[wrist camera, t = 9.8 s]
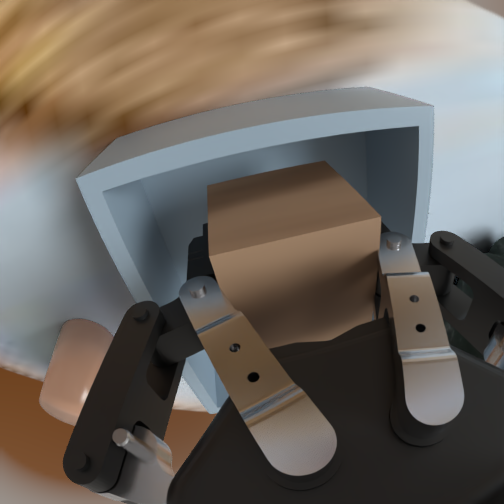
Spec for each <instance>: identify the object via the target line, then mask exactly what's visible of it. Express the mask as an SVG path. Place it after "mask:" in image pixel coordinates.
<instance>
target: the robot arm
mask: <svg viewBox="0 0 504 504" xmlns="http://www.w3.org/2000/svg"><path fill="white" fill-rule="evenodd" d="M377 266H378V272H377V282H376V291H375V294H373V302H372V304H373V314H374V320H373V321H370V322H367V323H364V324H360V325H357V326H355V327H354V328H352V329H350V330H348V331H346V332H345V333H343V334H341V335H339V336H337V337H336V338H334V339H332V340H328V341H313V342H295V343H291V344H287V345H283V346H279V347H274V348H270V349H268V347H267V346H266V345H265V343H264V342H263V340H262V339H261V338H260V336H259V335H258V334H257V332H256V331H255V329H254V328H253V327H252V325H251V324H250V323H249V321H248V320H247V318H246V317H245V316H244V314H243V313H242V312H241V311H240V310H239V311H236V310H235V309H234V307H233V306H232V304H231V303H230V301H229V300H228V298H227V297H226V296H225V294H224V293H223V291H222V290H221V288H219V285H218V282H217V279H216V276H215V273H214V270H213V267H212V264H211V261H210V258H209V243H208V223H205V224H203V236H199V237H195V238H193V239H192V241H191V243H190V244H189V246H188V262H187V281H186V282H185V283H184V284H183V285H182V286H181V288H180V290H179V297H178V298H177V299H175V300H174V301H172V302H170V303H168V304H166V305H163V306H161V307H159V306H158V305H157V303H155V302H153V301H142V302H139V303H137V304H135V305H133V306H132V307H131V308H130V309H129V310H128V311H127V312H126V314H125V316H124V318H123V320H122V322H121V324H120V326H119V328H118V330H117V332H116V334H115V336H114V338H113V340H112V342H111V344H110V346H109V349H108V351H107V353H106V355H105V357H104V359H103V361H102V364H101V366H100V368H99V370H98V373H97V375H96V377H95V379H94V382H93V384H92V386H91V388H90V391H89V393H88V396H87V398H86V400H85V403H84V405H83V407H82V410H81V412H80V415H79V417H78V420H77V422H76V425H75V428H74V430H73V433H72V435H71V438H70V441H69V444H68V446H67V449H66V452H65V454H64V458H63V468H64V471H65V473H66V475H67V477H68V478H69V479H70V480H71V481H72V482H74V483H76V484H78V485H81V486H83V487H85V488H88V489H89V490H90V491H92V492H94V493H97V494H99V495H102V496H104V497H107V498H110V499H112V500H116V501H121V502H124V503H127V504H504V268H503V267H502V266H500V265H499V264H498V263H496V262H495V261H494V260H492V259H491V258H489V257H488V256H486V255H485V254H484V253H482V252H481V251H479V250H478V249H476V248H475V247H473V246H472V245H471V244H469V243H468V242H466V241H465V240H463V239H462V238H460V237H458V236H457V235H455V234H453V233H451V232H447V231H437V232H434V233H433V234H432V235H431V237H430V242H429V243H411V240H410V239H409V238H408V237H407V236H406V235H404V234H402V233H399V232H391V231H390V230H389V229H388V228H387V227H386V225H385V224H384V223H383V222H382V221H381V233H380V248H379V249H378V250H377ZM455 275H456V276H457V277H459V278H460V279H461V280H463V281H464V282H465V283H466V284H468V285H469V286H470V287H471V289H472V291H473V295H474V296H473V300H472V299H471V298H470V297H469V296H467V295H466V294H465V293H464V292H463V291H461V290H460V289H459V288H458V287H456V286H455V285H454V284H453V281H454V277H455ZM442 317H443V318H444V319H445V320H446V321H447V322H448V323H449V324H450V325H451V326H453V327H454V328H455V329H456V330H457V331H458V332H459V333H460V334H461V335H462V336H463V337H464V338H465V339H466V340H468V341H469V342H470V343H471V344H472V345H473V346H474V347H475V348H476V349H477V350H478V351H479V352H480V353H481V354H482V355H483V356H484V359H485V361H484V360H482V359H480V358H477V357H475V356H473V355H471V354H469V353H467V352H465V351H463V350H461V349H458V348H456V347H454V346H452V345H450V344H449V342H448V338H447V333H446V329H445V326H444V322H443V318H442ZM204 349H205V351H206V353H207V355H208V357H209V359H210V361H211V363H212V365H213V367H214V368H215V370H216V372H217V374H218V376H219V378H220V380H221V382H222V383H223V385H224V387H225V389H226V391H227V393H228V394H229V396H228V398H227V399H226V401H225V402H224V404H223V405H222V407H221V408H220V410H219V411H218V413H217V415H216V416H215V418H214V419H213V421H212V422H211V424H210V425H209V427H208V428H207V430H206V431H205V433H204V434H203V436H202V437H201V439H200V440H199V442H198V443H197V445H196V446H195V447H194V449H193V450H192V452H191V453H190V455H189V456H188V458H187V459H186V460H185V462H184V463H183V465H182V466H181V468H180V469H179V470H178V472H177V473H176V475H175V474H174V473H173V470H172V453H171V450H170V448H169V447H168V445H167V444H166V443H165V442H163V440H164V436H165V432H166V428H167V425H168V421H169V418H170V414H171V411H172V407H173V403H174V400H175V396H176V393H177V389H178V386H179V383H180V379H181V376H182V372H183V369H184V365H185V362H186V358H188V357H190V356H192V355H194V354H196V353H198V352H200V351H202V350H204Z"/></svg>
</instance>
